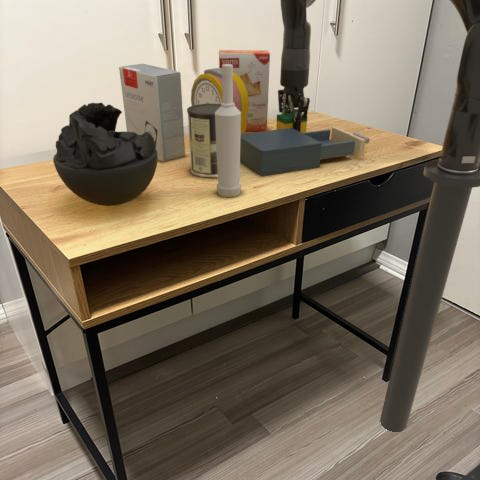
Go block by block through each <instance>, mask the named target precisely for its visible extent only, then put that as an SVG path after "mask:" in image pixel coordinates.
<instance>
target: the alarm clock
mask: <svg viewBox="0 0 480 480" xmlns="http://www.w3.org/2000/svg"><path fill="white" fill-rule="evenodd" d="M221 103H223V79H222V69H221V68H219V67H214V68H213V67H212V68H208V69H205V70H203V73H201V74H199V75H198V76H197V77H196V78H195V79H194V80H193V84H192V86H191V91H190V104H191V106H193V105H199V104H221ZM233 103H234V104H235V107H236V108H237V109H238V110H239V111H240V112H241V134H245V133H247V131H246V124H247V116H248V108H249V101H248V93H247V90H246V88H245V85H244V82H243V81H242V80H241V78H240V77H239V76H238V74H236V73H234V72H233Z"/></svg>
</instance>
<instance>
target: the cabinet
mask: <svg viewBox="0 0 480 480" xmlns="http://www.w3.org/2000/svg"><path fill="white" fill-rule="evenodd" d="M321 146H322V143H321V142H319V141H317V140H315V139H313V138H311V137H309V136H307V135H305V134H303V133H301V132H299V131H297V130H295V129H293V128H286V129H278V130H276V129H271V130H267V131H253V132H245V134H241V137H240V163H242V164H244V165H245V166H246V167H248V168H249V169H251V170H252V171H254V172H255V173H257V174H258V175H259V176H261V177H265V176H271V175H277V174H285V173H291V172H297V171H304V170H309V169H315V168H320V166H321V160H320V158H321Z"/></svg>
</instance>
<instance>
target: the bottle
mask: <svg viewBox="0 0 480 480" xmlns="http://www.w3.org/2000/svg"><path fill="white" fill-rule="evenodd" d="M222 79H223V103H221V107H220V108H219V109H218V110H217V111H216V112H215V126H216V148H217V169H218V177H217V183H216V191H217V194H218V195H219V196H220V197H222V198H223V197H224V198H234V197H237V196H239V195H240V194H241V189H242V184H241V183H240V179H241V161H240V137H241V112H240V111H239V110H238V109H237V108H236V107H235V104H234V103H233V65H231V64H224V65H222Z"/></svg>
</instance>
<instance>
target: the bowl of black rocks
mask: <svg viewBox="0 0 480 480" xmlns="http://www.w3.org/2000/svg"><path fill="white" fill-rule="evenodd" d="M122 113H123V111H122V110H121V109H119V108H117V107H114V106H113V105H111V104H107V105H105V104H104V103H103V102H90V103H87V104H85V103H84V104H83V105H81V106H80V107H78V109H75V110H74V111H73V112H71V113H70V114H69V118H68V119H69V120H68V122H69V123H68V125H65V126H63V127H62V128H61V129H60V131H61V132H60V133H59V135H58V138H57V139H58V140H56V141H55V149H56V153H55V154H54V155H53V158H52V162H53V165H54V168H55V170H56V173H57V175H58V176H59V178H60V179H61V181H62V183H64V185H65V187H66V188H67V189H68V190H70V192H71V193H73V194H74V195H76V196H77V197H79V198H80V199H81V200H83V201H85V202H87V203H90V204H93V205H97V206H103V207H113V206H114V207H115V206H120V205H124V204H127V203H130V202H132V201H134V200H135V199H137V198H138V197H139V196H141V195H142V194H143V193H144V192H145V191H146V190H147V188H148V187H149V185H150V184H151V182H152V181H153V179H154V176H155V173H156V171H157V170H156V169H157V165H158V160H157V159H158V153H157V150H156V149H155V144H154V138H153V137H152V135H151V134H150V133H149V132H145V133H144V134H142V135H138V134H136V133H135V132H127V131H116V130H117V124H118V119H119V118H120V116H121V115H122Z"/></svg>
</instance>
